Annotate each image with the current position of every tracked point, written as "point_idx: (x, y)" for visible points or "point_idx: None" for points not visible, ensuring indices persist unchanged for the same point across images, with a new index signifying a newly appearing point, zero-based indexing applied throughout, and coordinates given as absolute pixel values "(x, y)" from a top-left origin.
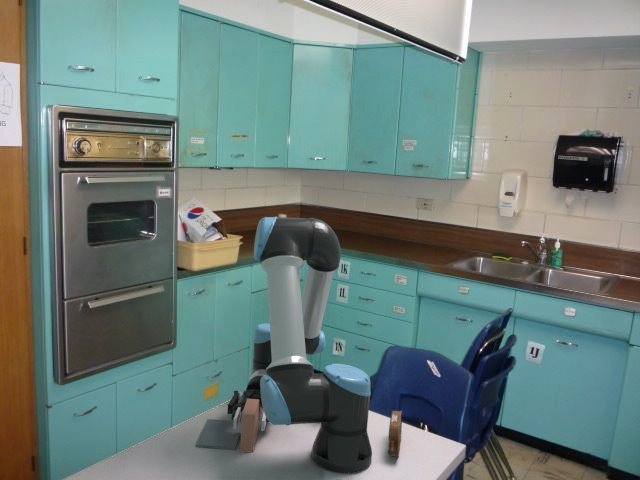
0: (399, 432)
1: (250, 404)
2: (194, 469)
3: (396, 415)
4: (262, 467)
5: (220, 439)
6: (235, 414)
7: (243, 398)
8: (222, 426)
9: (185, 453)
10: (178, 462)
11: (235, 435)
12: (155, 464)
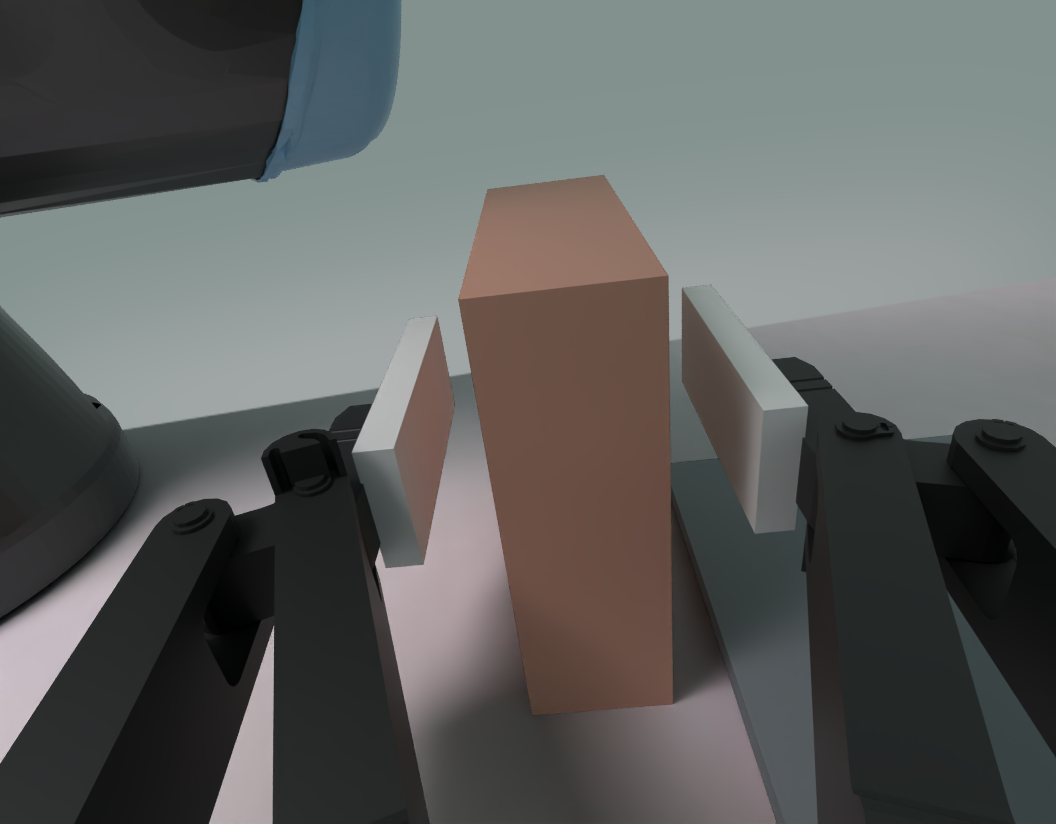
0: None
1: (566, 231)
2: (793, 339)
3: None
4: (455, 404)
5: None
6: (734, 315)
7: (983, 728)
8: (1035, 734)
9: (961, 397)
10: (919, 350)
11: (744, 590)
12: (1017, 323)
